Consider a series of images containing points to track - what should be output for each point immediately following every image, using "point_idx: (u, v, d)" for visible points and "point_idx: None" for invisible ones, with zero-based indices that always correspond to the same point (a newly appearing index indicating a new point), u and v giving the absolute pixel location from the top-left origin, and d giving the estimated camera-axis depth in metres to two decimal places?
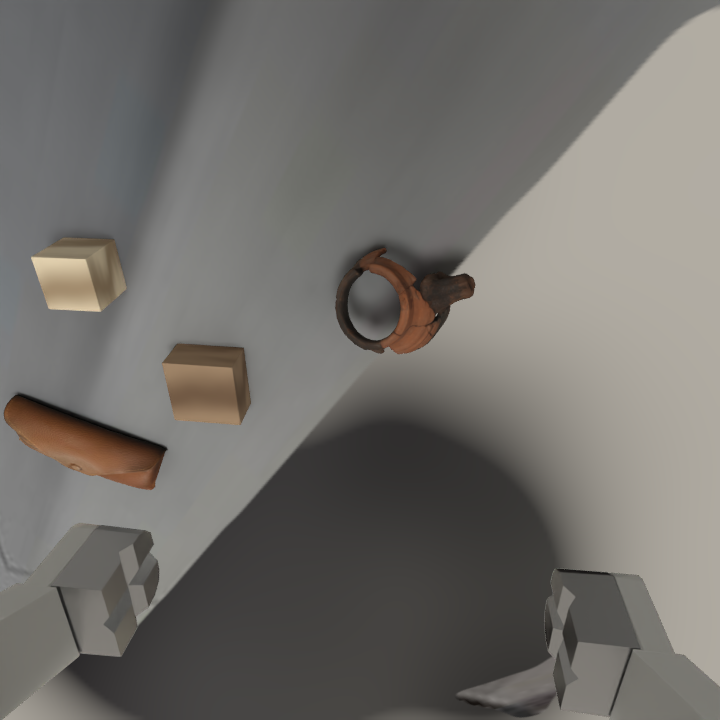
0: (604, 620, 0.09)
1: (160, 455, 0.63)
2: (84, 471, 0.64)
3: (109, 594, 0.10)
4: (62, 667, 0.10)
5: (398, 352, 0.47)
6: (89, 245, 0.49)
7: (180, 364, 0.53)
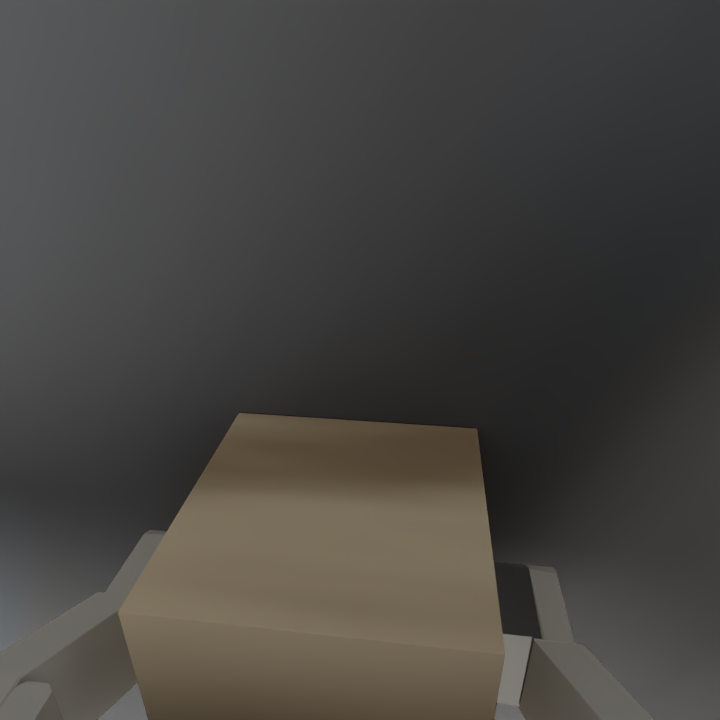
0: (511, 611, 0.09)
1: None
2: None
3: None
4: None
5: None
6: (400, 479, 0.10)
7: None
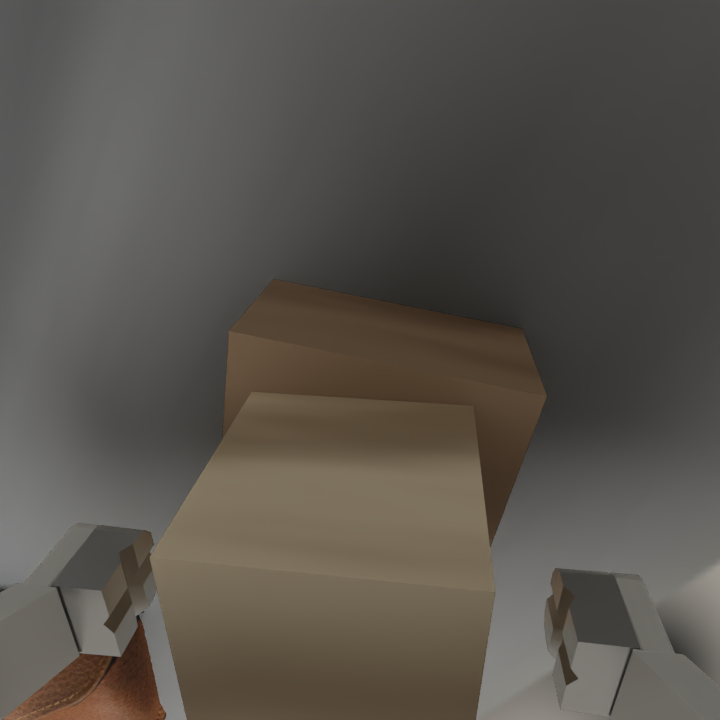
0: (605, 621, 0.09)
1: None
2: None
3: (109, 594, 0.10)
4: (62, 667, 0.10)
5: None
6: (402, 449, 0.10)
7: (313, 348, 0.12)
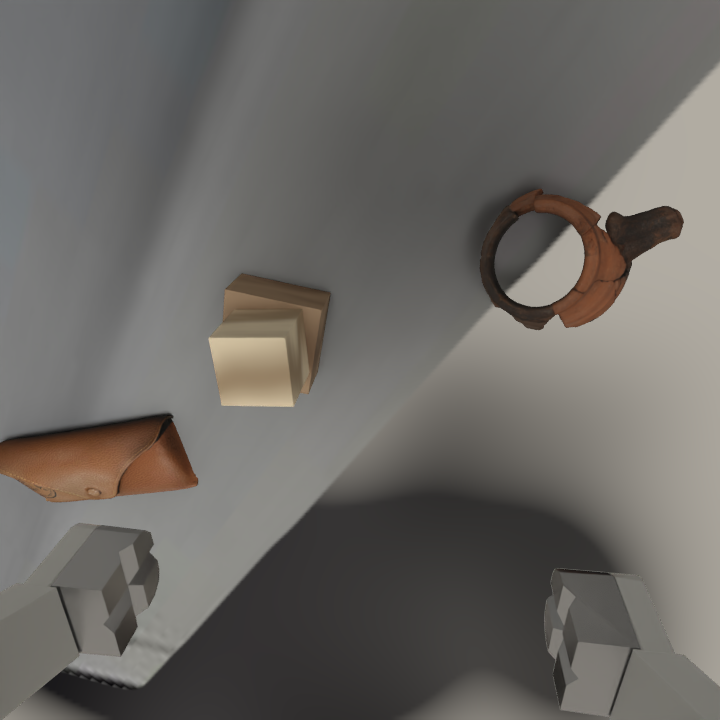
0: (604, 620, 0.09)
1: (160, 422, 0.47)
2: (106, 493, 0.50)
3: (109, 594, 0.10)
4: (62, 667, 0.10)
5: (568, 324, 0.35)
6: (275, 318, 0.37)
7: (251, 294, 0.39)
